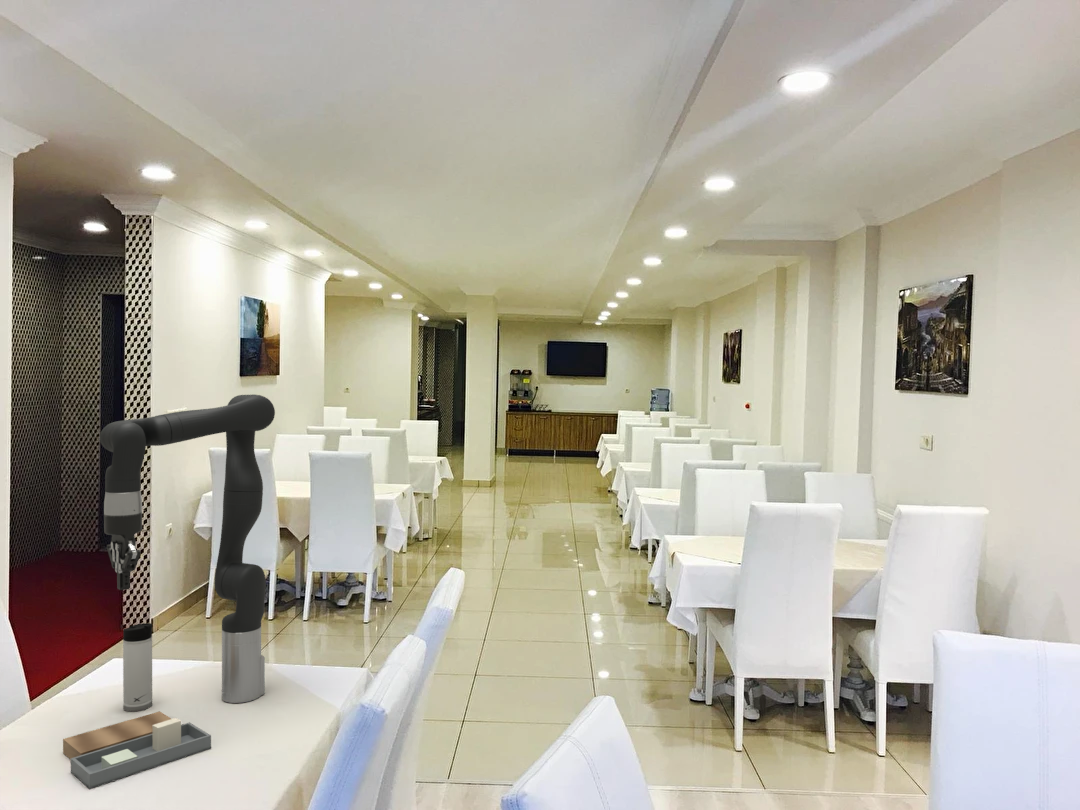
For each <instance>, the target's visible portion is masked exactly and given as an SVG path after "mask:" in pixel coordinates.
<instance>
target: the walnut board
mask: <svg viewBox="0 0 1080 810" xmlns="http://www.w3.org/2000/svg"><path fill="white" fill-rule="evenodd" d="M170 719H172V718H171V716H168V715H166V714H165V713H164V712H161V711H156V712H153V713H149V714H146V715H143V716H142V715H141V716H139V717H135V718H131V719H127V720H124V721H122V722H117V723H114V724H110V725H107V726H104V727H100V728H97V729H93V730H89V731H86V732H82V733H79V734H77V735H73V736H68V737H65V738H63V739H62V753H63V755H64V756H65V757H67V758H68V759H69V760H71V758H74V757H77V756H80V755H84V754H87V753H90V752H94V751H97V750H100V749H103V748H107V747H110V746H113V745H117V744H120V743H123V742H126V741H130V740H133V739H136V738H140V737H143V736H146V735H149V734H153V731H152V725H154V724H158V723H161V722H164V721H167V720H170Z"/></svg>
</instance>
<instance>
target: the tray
mask: <svg viewBox="0 0 1080 810" xmlns="http://www.w3.org/2000/svg"><path fill="white" fill-rule="evenodd" d="M210 748H211V749H212V735H211V734H210V733H209V732H207V731H205V730H203V729H201V728H199V726H196V725H195V724H193V723H191V722H190V721H189V722H186V723H183V724H182V723H181V744H179V745H176V746H172V747H169V748H166V749H163V750H160V751H156V750H154V749H153V734H149V735H146V736H143V737H140V738H136V739H133V740H130V741H126V742H123V743H120V744H117V745H113V746H110V747H107V748H103V749H100V750H97V751H94V752H90V753H87V754H84V755H80V756H77V757H74V758H71V759H70V773H71V774H72V775H73V776H74V777H76V778H77V780H78V781H80V782H81V783H82V784H83V785H84V786H86V788H88V789H89V790H91V789H94V788H97V787H101V786H103V785H106V784H108V783H109V784H110V783H112V782H114V781H117V780H118V781H119V780H121V779H123V778H124V779H125V778H126V777H129V776H132V775H136V774H138V773H142V772H145V771H147V770H151V769H153V768H157V767H159V766H162V765H165V764H169V763H173V762H174V761H177V760H180V759H183V758H186V757H189V756H192V755H195V754H198V753H201V752H204V751H207V750H210ZM125 749H128V750H130V751H131V752H133V753H134V754H135V755H137V756H138V758H135V759H132V760H129V761H126V762H123V763H120V764H116V765H113V766H110V767H107V768H104V769H102V767H101V757H103V756H106V755H109V754H112V753H116V752H119V751H122V750H125Z"/></svg>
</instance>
